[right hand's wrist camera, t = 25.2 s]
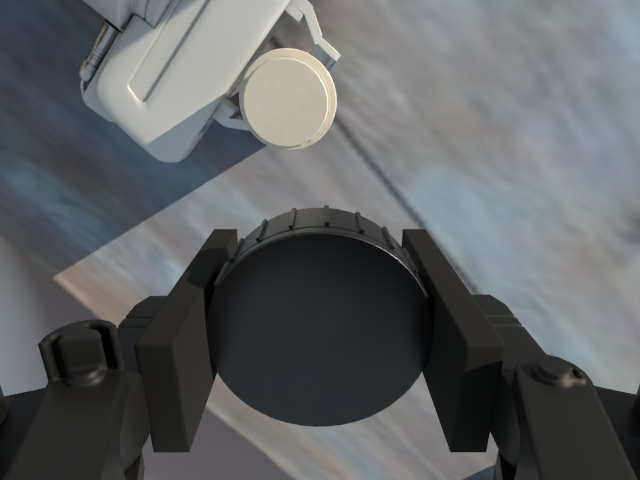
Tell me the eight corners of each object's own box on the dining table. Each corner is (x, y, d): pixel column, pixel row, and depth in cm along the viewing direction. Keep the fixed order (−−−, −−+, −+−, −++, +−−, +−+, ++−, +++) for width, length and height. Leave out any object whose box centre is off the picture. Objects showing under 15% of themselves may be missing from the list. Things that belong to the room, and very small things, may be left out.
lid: (419, 373, 13) (435, 422, 11) (236, 386, 13) (223, 436, 11) (419, 196, 11) (438, 219, 9) (203, 213, 11) (180, 240, 9)
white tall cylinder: (326, 121, 37) (334, 159, 21) (269, 118, 37) (233, 154, 21) (330, 59, 35) (342, 49, 19) (270, 56, 35) (231, 42, 19)
